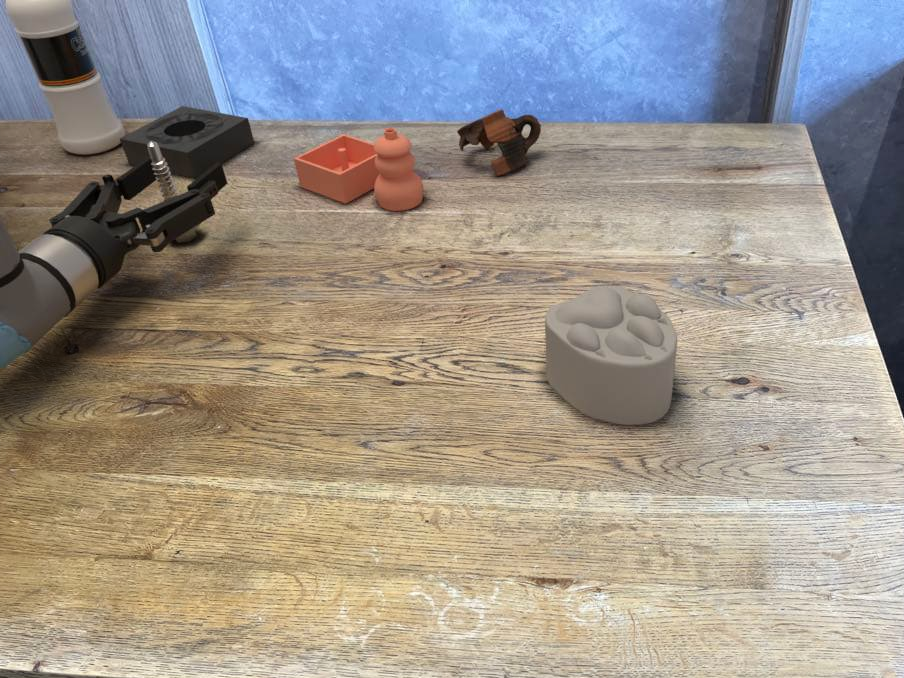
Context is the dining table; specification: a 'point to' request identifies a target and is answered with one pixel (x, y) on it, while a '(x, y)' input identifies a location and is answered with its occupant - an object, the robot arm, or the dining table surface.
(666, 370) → the lumpy-topped squat cylinder
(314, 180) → the pottery
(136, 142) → the hole plate
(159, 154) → the screw
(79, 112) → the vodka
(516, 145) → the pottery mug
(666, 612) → the dining table surface
